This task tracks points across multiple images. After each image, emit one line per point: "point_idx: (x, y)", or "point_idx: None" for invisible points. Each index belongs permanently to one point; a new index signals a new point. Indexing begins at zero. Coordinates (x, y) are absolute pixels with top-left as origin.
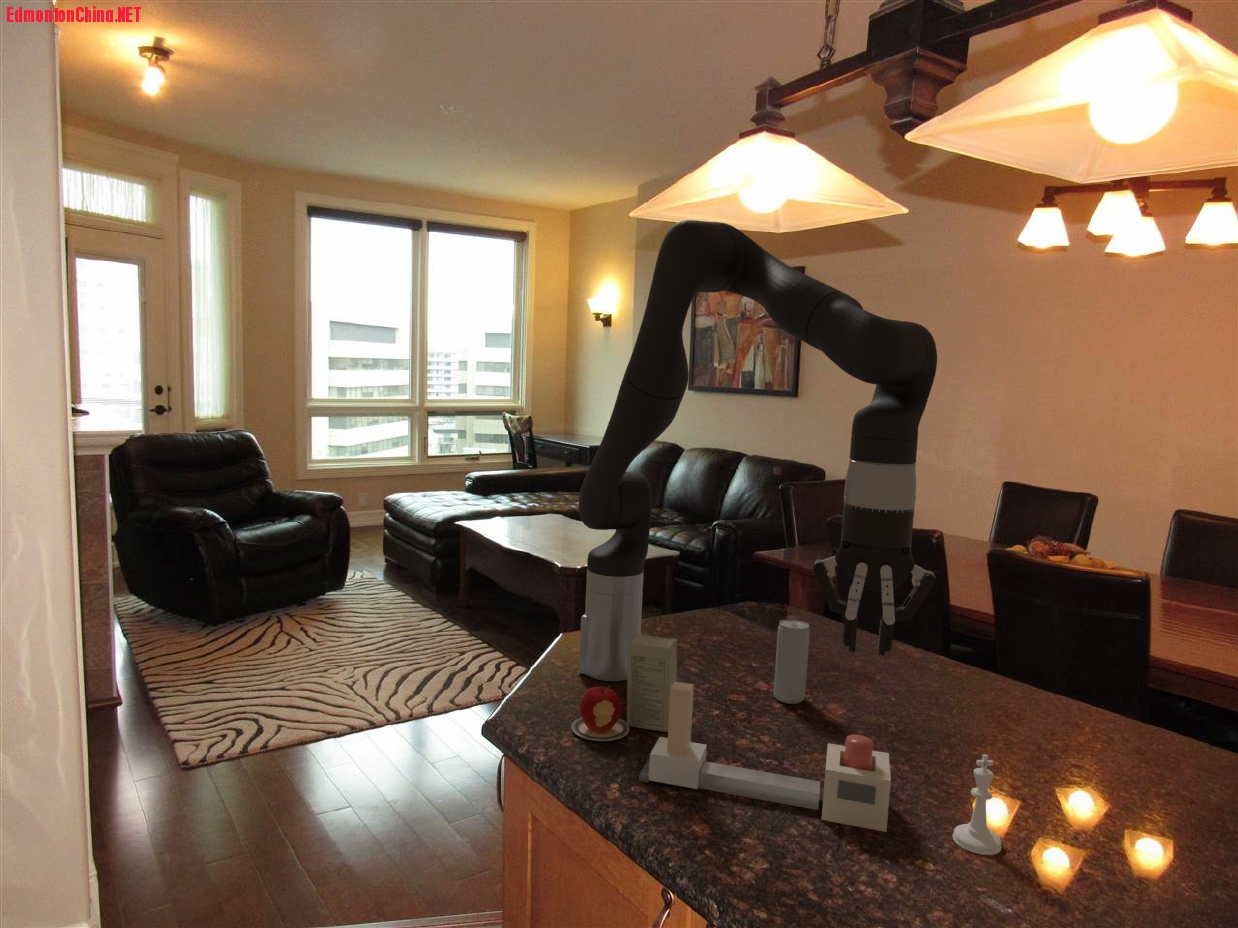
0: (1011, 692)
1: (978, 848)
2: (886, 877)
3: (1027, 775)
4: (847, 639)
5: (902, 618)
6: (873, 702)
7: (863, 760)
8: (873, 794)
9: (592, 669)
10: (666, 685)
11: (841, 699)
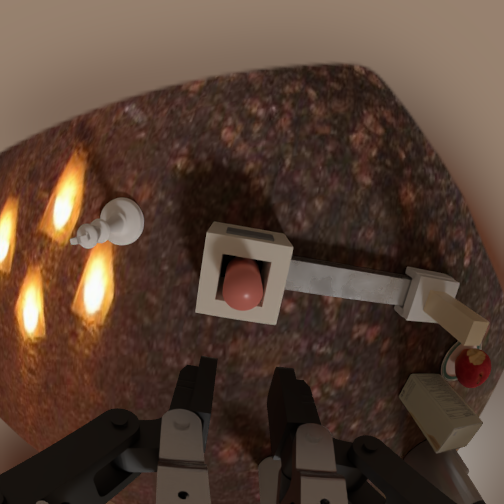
0: None
1: (124, 199)
2: (231, 132)
3: (63, 355)
4: (300, 391)
5: (135, 419)
6: None
7: (238, 267)
8: (229, 229)
9: None
10: (435, 402)
11: (220, 468)
